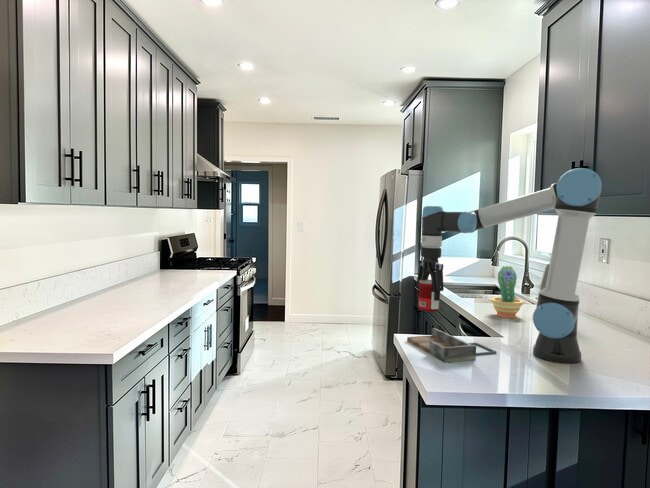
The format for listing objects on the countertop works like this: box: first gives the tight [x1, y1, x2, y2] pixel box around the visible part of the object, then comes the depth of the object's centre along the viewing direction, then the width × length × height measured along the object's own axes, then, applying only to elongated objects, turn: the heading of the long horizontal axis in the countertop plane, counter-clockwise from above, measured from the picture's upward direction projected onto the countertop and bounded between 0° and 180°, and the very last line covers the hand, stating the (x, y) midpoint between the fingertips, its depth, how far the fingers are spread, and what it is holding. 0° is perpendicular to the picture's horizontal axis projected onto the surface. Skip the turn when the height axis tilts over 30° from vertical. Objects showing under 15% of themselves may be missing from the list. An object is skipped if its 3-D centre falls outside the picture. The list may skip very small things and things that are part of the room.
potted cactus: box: [490, 265, 525, 319], centre depth 216 cm, size 15×15×25 cm
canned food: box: [417, 279, 441, 313], centre depth 165 cm, size 8×8×11 cm
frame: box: [468, 342, 497, 356], centre depth 159 cm, size 12×10×1 cm
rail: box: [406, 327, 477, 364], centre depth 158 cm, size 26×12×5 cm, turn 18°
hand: (428, 306), depth 165 cm, fingers closed on canned food, 8 cm apart
